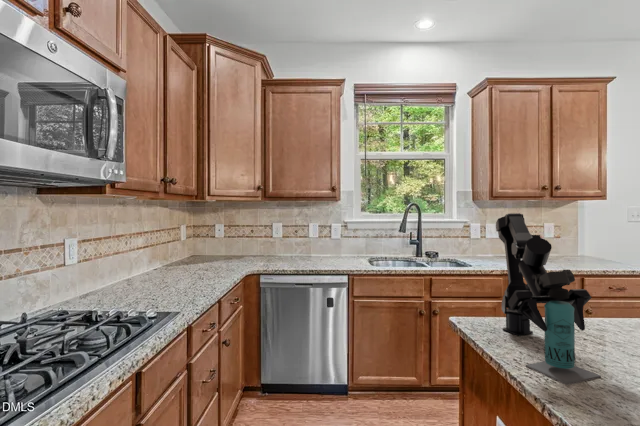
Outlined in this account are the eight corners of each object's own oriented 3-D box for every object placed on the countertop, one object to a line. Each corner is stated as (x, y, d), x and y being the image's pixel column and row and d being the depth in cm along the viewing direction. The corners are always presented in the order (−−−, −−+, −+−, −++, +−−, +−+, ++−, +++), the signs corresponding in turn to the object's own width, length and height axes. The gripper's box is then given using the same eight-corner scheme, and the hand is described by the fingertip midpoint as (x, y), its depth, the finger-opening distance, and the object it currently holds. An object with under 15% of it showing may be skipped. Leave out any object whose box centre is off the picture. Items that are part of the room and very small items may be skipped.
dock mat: (525, 366, 94) (525, 364, 94) (557, 360, 98) (557, 358, 98) (566, 385, 84) (566, 383, 84) (600, 377, 87) (600, 375, 87)
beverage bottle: (538, 364, 94) (537, 285, 94) (565, 364, 94) (564, 285, 94) (554, 375, 88) (552, 291, 88) (582, 375, 87) (581, 290, 87)
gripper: (513, 259, 94) (540, 313, 83) (585, 257, 95) (622, 312, 84) (498, 284, 102) (521, 337, 91) (565, 282, 103) (596, 335, 92)
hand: (564, 330), depth 89 cm, fingers open, 9 cm apart
